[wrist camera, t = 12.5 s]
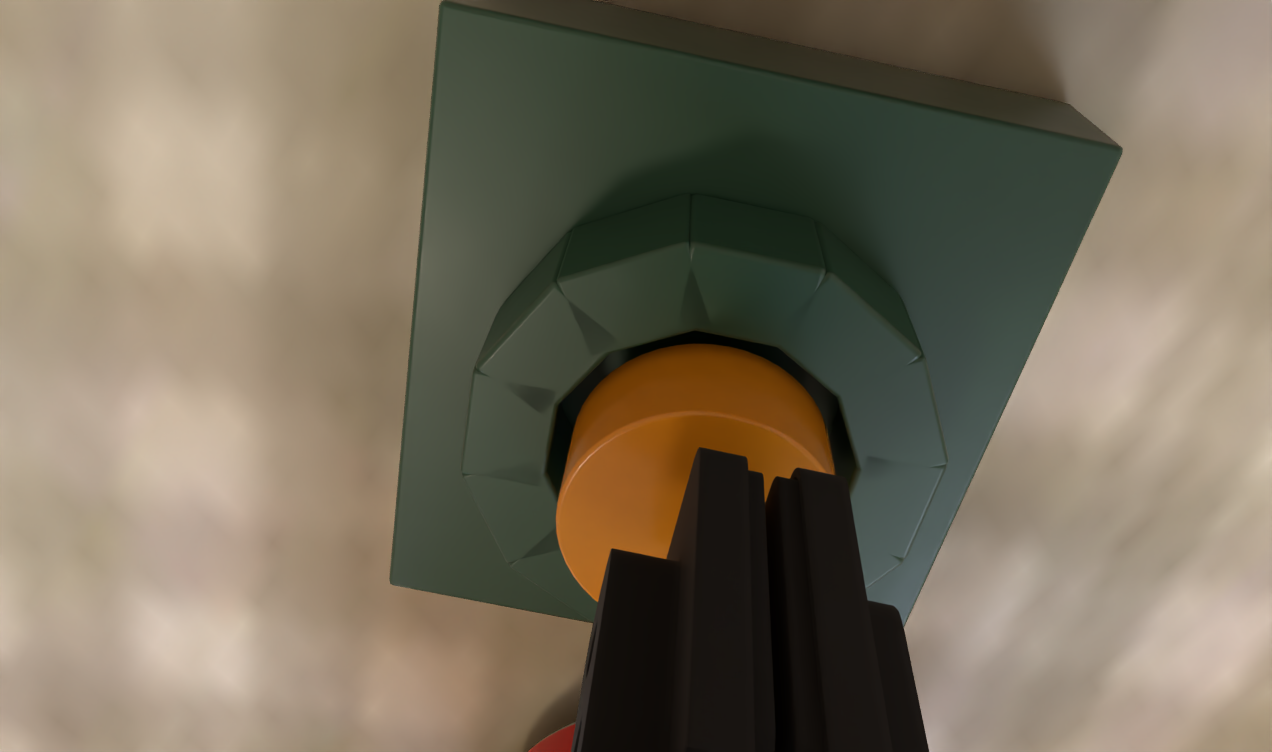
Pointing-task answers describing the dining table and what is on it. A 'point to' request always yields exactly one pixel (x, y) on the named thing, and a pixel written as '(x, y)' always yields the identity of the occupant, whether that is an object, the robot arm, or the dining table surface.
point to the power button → (674, 446)
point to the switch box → (715, 268)
